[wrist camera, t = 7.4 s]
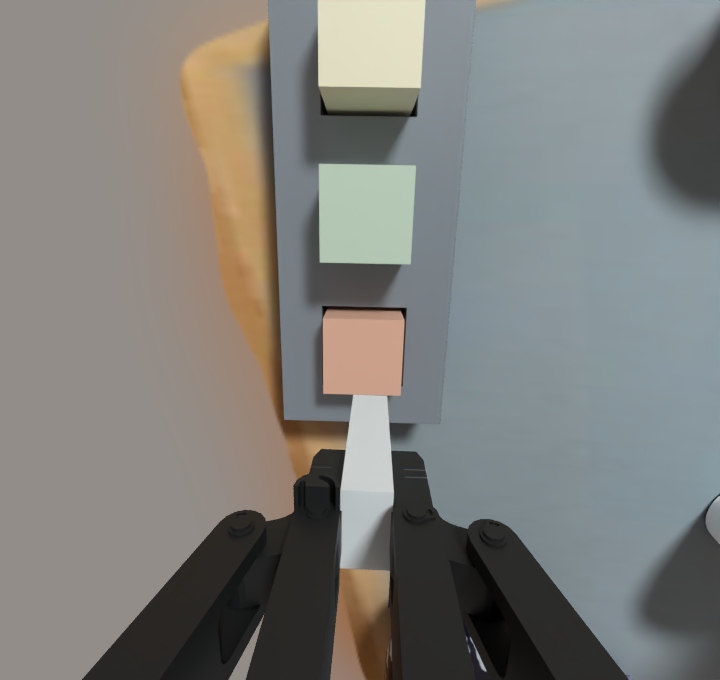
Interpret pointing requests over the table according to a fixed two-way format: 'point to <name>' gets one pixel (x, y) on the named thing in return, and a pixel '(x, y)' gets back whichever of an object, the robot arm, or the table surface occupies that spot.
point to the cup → (714, 519)
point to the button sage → (366, 213)
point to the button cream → (370, 56)
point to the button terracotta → (362, 350)
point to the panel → (367, 147)
